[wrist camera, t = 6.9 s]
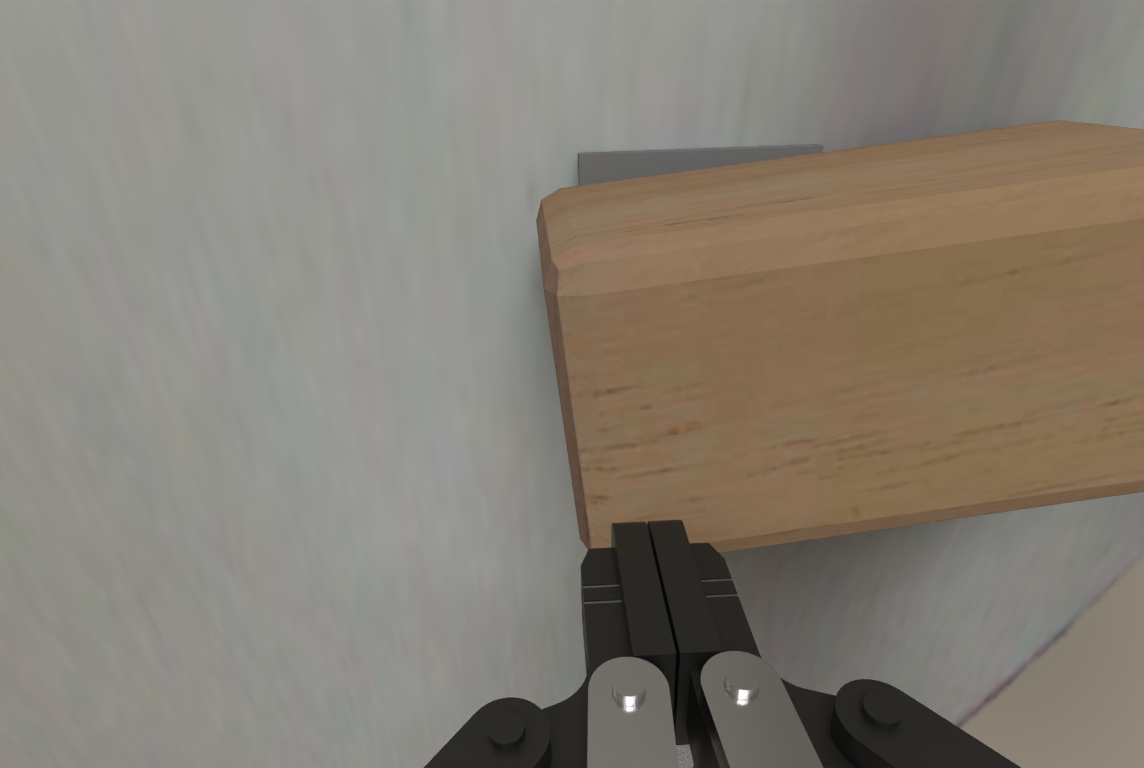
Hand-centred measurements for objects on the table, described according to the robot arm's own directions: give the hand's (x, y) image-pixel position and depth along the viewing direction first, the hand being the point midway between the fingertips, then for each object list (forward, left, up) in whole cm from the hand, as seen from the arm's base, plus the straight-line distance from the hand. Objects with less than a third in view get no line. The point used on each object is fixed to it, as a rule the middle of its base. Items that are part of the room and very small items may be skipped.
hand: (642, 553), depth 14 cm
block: (+2, 0, -9) cm, 9 cm away
